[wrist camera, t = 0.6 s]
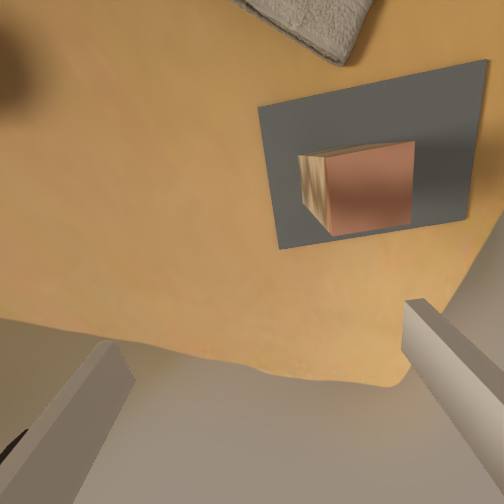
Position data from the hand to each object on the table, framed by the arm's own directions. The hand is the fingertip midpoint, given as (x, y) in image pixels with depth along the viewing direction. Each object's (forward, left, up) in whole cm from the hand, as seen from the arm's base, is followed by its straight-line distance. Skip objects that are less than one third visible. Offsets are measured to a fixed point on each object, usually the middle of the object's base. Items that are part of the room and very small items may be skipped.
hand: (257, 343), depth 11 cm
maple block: (-4, +9, -24) cm, 26 cm away
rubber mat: (-4, +15, -25) cm, 29 cm away
